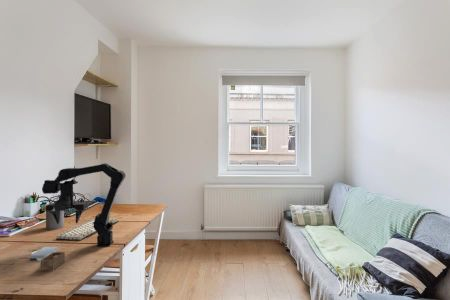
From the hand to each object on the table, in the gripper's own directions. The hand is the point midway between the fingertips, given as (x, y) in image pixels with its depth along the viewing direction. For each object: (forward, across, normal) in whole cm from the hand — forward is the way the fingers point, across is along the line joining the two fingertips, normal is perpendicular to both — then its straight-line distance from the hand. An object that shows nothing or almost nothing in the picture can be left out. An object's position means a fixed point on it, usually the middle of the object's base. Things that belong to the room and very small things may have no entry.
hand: (67, 223), depth 136 cm
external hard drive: (+13, -5, -10) cm, 17 cm away
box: (+12, +6, -23) cm, 26 cm away
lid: (+11, -5, -11) cm, 16 cm away
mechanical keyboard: (+13, -1, +27) cm, 30 cm away
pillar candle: (+12, -25, +33) cm, 43 cm away
